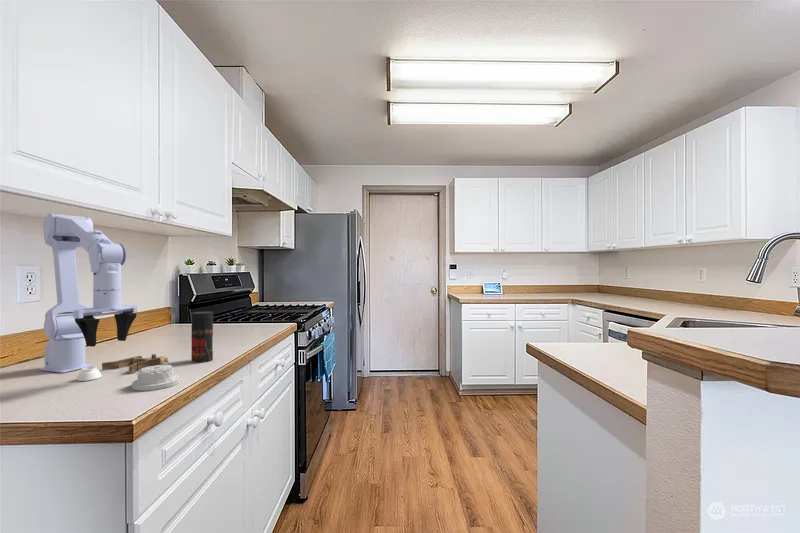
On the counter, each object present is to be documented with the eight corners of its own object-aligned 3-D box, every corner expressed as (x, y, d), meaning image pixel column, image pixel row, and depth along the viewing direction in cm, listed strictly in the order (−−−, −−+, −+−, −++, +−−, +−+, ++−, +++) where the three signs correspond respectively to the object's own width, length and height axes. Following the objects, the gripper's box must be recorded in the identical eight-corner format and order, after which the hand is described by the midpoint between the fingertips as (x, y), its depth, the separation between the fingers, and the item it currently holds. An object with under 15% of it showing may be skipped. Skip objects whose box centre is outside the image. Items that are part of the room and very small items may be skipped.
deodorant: (189, 360, 120) (189, 312, 120) (209, 357, 124) (209, 311, 124) (194, 363, 116) (194, 314, 116) (215, 360, 120) (215, 312, 120)
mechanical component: (121, 390, 91) (156, 393, 89) (121, 372, 92) (156, 374, 89) (155, 378, 101) (188, 381, 99) (155, 362, 101) (188, 363, 99)
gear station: (100, 370, 108) (100, 361, 108) (150, 358, 123) (150, 350, 123) (130, 374, 105) (130, 365, 105) (179, 361, 119) (179, 353, 119)
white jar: (83, 377, 102) (72, 382, 97) (83, 366, 102) (72, 371, 97) (105, 376, 103) (95, 381, 98) (105, 365, 103) (95, 370, 98)
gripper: (87, 292, 90) (87, 350, 90) (145, 289, 104) (145, 339, 104) (67, 291, 92) (66, 347, 92) (126, 288, 106) (126, 337, 106)
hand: (107, 343), depth 98 cm, fingers open, 7 cm apart
